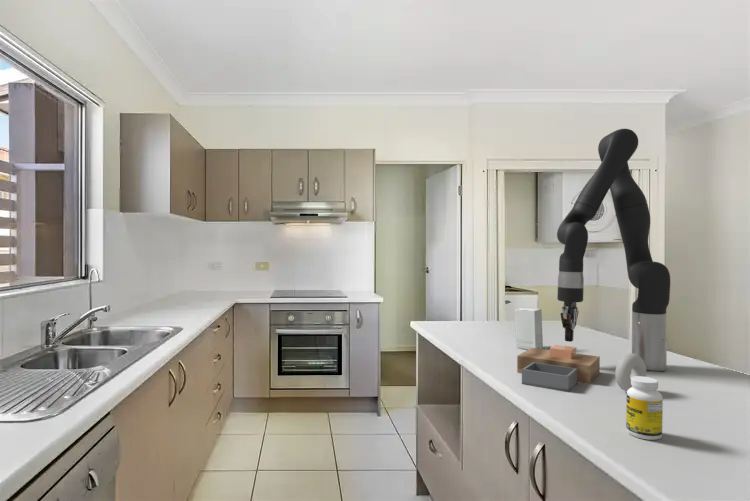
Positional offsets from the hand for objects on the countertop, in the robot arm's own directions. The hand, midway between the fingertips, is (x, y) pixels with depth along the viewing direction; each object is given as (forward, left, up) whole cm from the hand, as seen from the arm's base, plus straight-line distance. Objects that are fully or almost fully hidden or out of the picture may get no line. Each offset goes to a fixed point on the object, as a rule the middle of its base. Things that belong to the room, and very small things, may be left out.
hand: (569, 341), depth 146 cm
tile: (0, +9, -3) cm, 10 cm away
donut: (-19, +18, -8) cm, 28 cm away
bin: (0, +23, -8) cm, 24 cm away
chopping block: (+1, +10, -8) cm, 13 cm away
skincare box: (+19, -19, -8) cm, 28 cm away
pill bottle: (-25, +48, -8) cm, 55 cm away
